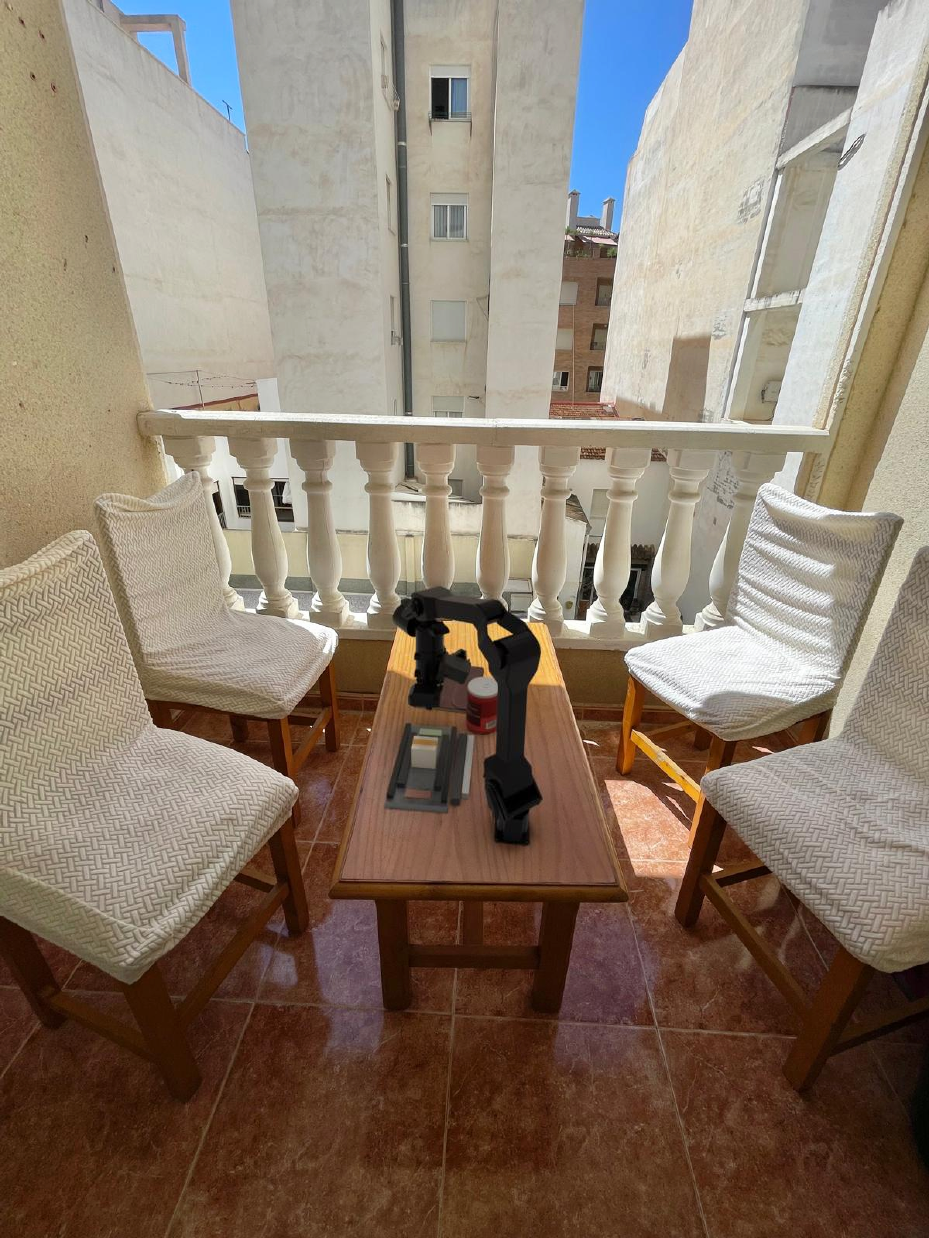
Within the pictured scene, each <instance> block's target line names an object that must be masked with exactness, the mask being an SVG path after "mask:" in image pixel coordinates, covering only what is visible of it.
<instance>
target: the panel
mask: <svg viewBox="0 0 929 1238" xmlns="http://www.w3.org/2000/svg"><path fill="white" fill-rule="evenodd" d="M458 730H459V728H458V726H453V725H452V726H451V727H450V726H449V727H448V726H447V727H446V726H435V725H434V726H433V725H422V724H421V725H419V724H412V723H411V722H406V723H405V725H404V728H403V733H402V736H401V739H400V744H399V747H398V750H397V753H396V757H395V761H394V765H393V769H392V772H391V776H390V779H389V783H388V785H387V790H386V796H385V802H384V803H385V804H384V805H385V806H384V807H385V808H386V809H399V810H409V811H422V812H434V813H435V812H436V813H445V814H446V813H447V812H448V806H449V802H450V801H449V799H450V794H451V785H452V780H453V773H454V765H455V763H454V762H455V758H456V757H455V756H456V751H457V743H458V736H459V731H458ZM414 736H424V737H438V757H437V762H436V768H435V769H430V768H418V767H411V747H412V742H413V739H414Z"/></svg>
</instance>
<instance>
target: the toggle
mask: <svg viewBox="0 0 929 1238" xmlns="http://www.w3.org/2000/svg"><path fill="white" fill-rule="evenodd" d="M437 757H438V737H424V736H414V739H413V742H412V747H411V767H418V768H430V769H435V768H436V762H437Z"/></svg>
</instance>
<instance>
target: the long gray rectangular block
mask: <svg viewBox="0 0 929 1238" xmlns="http://www.w3.org/2000/svg"><path fill="white" fill-rule="evenodd" d="M474 743H475V734H473V735H472V734H468V733H467V732H458V738H457V746H456V753H455V756H456V757H455V761H454V762H455V763H454V768H453V776H452V784H451V785H452V787H451V791H450V803H449V804H450V806H457V807H460V805H461V799H465V800H466V799H467V800H469V797H470V788H471V787H470V785H471V775H472V763H473V756H474V754H473V753H474Z"/></svg>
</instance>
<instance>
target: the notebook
mask: <svg viewBox="0 0 929 1238" xmlns="http://www.w3.org/2000/svg"><path fill="white" fill-rule="evenodd" d="M484 673H485V668H484V667H482V666H476V665H471V670H470V673H469V676H468V678H467V680H466V682H465V684H459V683H458V682H456V681H453V680H451V679H448V678H446V677H445V680H444V682H443V683H442V684H441V685H443V690H442V693H441V701H440V706H439V707H437V708H432V710H433V711H436V710H437V711H441V712H451V713H460V714H466V713H467V689H468V684H469V682H470V681H471V680H473V679H475V678H478V677H484ZM412 707H413V708H419V709H420V708H421V709H426V707H417V706H412Z"/></svg>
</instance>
